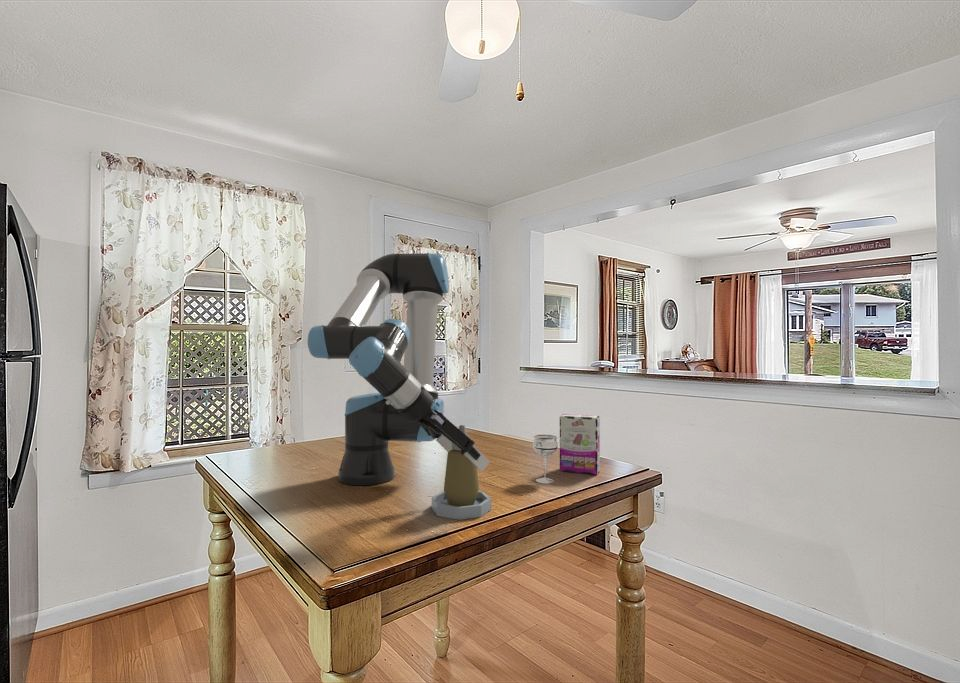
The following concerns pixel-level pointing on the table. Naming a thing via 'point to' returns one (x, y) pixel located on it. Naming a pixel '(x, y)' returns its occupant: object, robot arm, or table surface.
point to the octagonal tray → (463, 512)
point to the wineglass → (545, 451)
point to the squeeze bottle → (460, 478)
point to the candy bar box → (580, 443)
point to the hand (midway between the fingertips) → (470, 459)
